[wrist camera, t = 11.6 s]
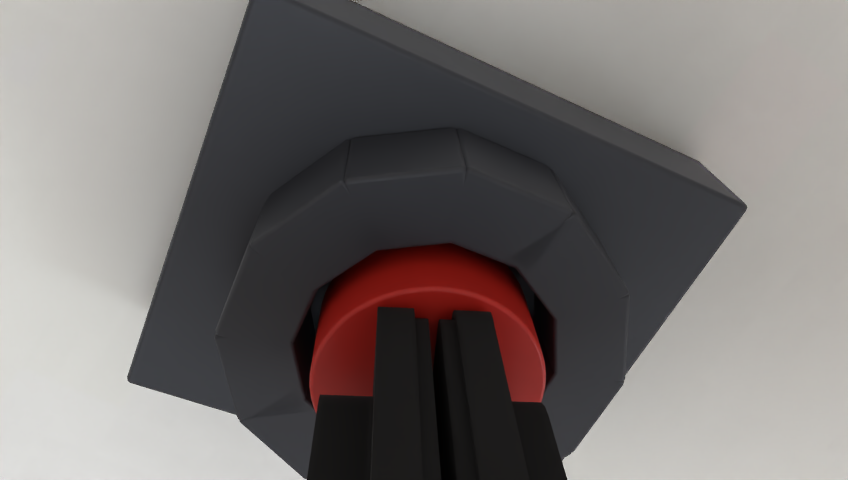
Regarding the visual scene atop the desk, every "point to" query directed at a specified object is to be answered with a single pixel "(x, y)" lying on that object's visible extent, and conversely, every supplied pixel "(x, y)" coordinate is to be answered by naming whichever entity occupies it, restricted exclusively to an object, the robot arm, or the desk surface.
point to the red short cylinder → (421, 315)
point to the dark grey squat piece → (411, 215)
